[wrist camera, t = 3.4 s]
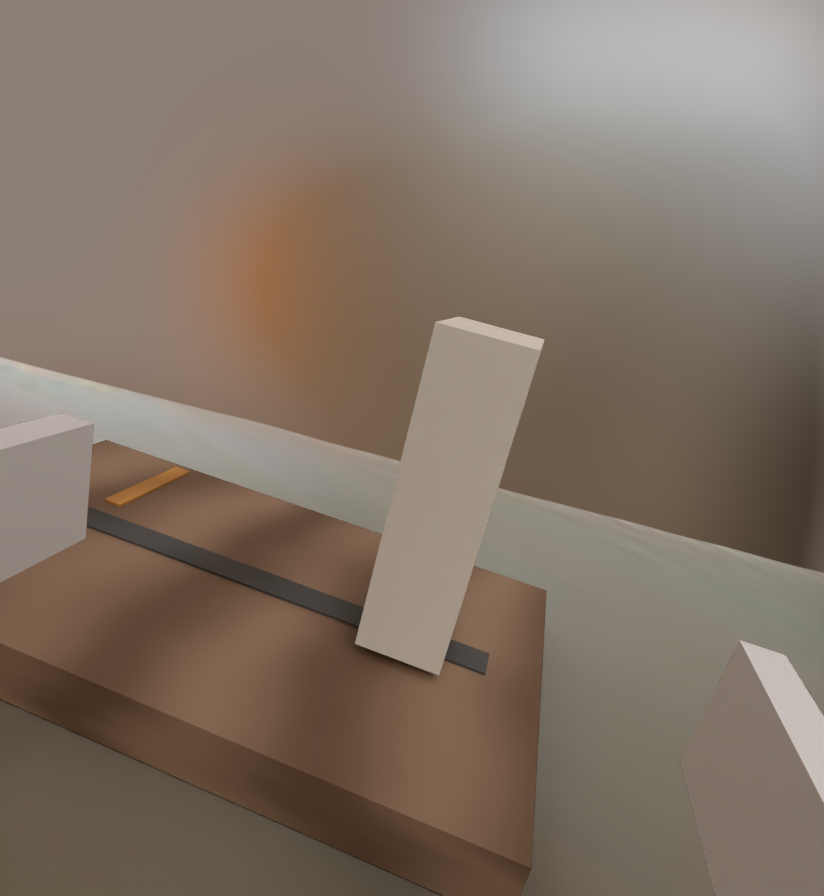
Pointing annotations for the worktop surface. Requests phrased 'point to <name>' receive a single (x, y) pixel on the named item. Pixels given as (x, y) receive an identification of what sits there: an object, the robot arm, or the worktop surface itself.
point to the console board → (283, 674)
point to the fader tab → (446, 487)
